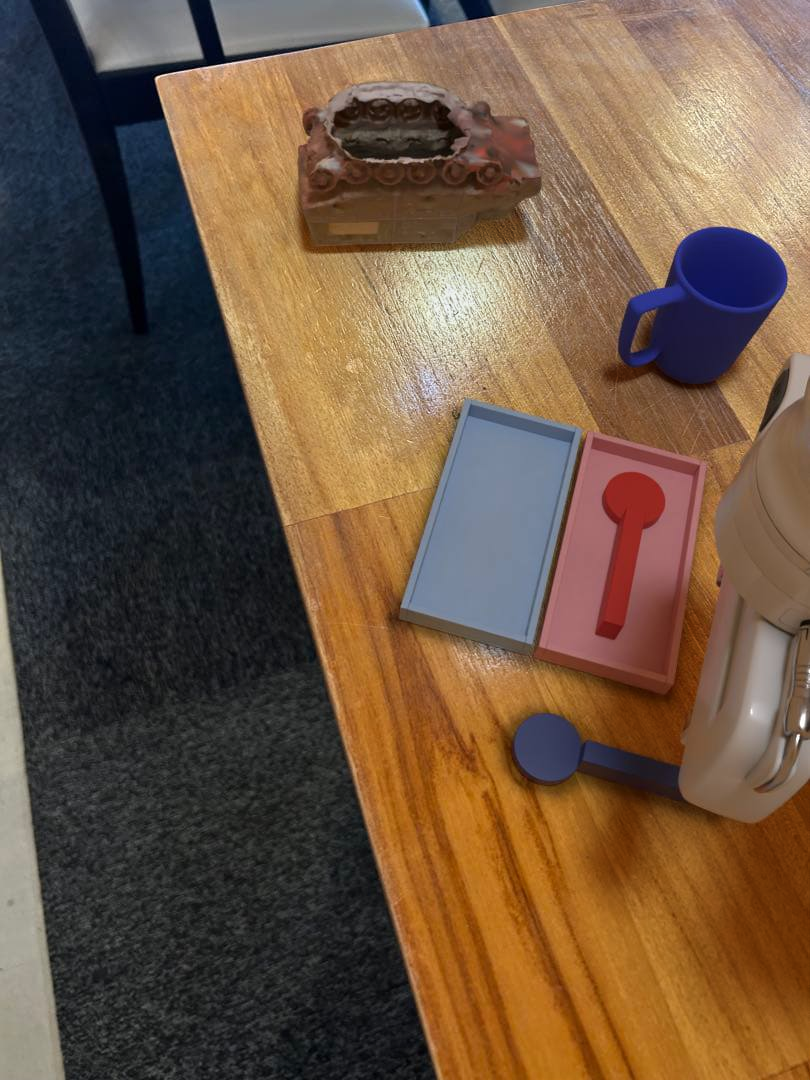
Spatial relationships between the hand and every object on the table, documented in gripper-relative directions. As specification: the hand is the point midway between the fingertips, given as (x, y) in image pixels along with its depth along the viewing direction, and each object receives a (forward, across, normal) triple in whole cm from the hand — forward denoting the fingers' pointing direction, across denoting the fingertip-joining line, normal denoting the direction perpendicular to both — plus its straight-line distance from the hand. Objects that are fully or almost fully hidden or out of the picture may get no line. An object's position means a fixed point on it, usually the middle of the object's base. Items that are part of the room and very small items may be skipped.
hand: (715, 654), depth 50 cm
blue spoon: (+13, -3, +2) cm, 14 cm away
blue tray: (+13, +11, +14) cm, 22 cm away
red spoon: (+13, +12, +4) cm, 18 cm away
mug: (+14, +30, +5) cm, 34 cm away
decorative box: (+14, +39, +30) cm, 51 cm away
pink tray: (+13, +12, +4) cm, 18 cm away
